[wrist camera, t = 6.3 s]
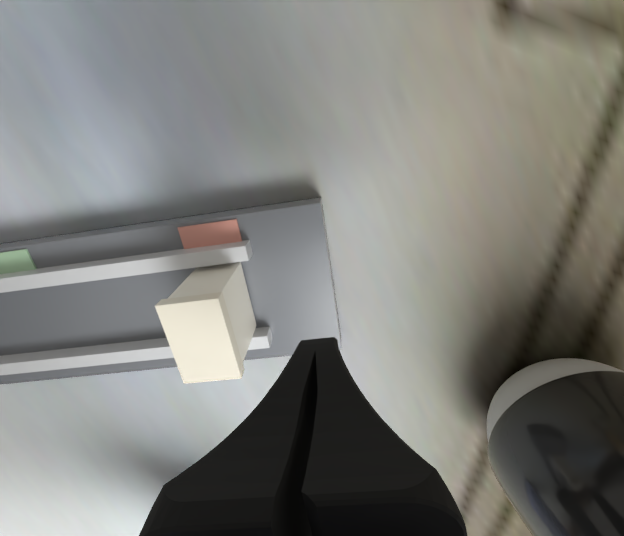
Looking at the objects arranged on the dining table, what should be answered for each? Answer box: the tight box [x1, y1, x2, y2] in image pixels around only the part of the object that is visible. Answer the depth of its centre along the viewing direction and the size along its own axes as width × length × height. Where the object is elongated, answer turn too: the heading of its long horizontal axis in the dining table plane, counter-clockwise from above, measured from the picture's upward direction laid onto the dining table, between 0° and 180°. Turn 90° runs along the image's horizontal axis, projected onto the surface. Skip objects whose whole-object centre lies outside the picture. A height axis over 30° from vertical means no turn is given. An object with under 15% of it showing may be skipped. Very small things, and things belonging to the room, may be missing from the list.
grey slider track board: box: [0, 197, 342, 384], centre depth 20 cm, size 9×24×2 cm, turn 99°
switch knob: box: [155, 262, 256, 384], centre depth 17 cm, size 4×3×4 cm, turn 9°
